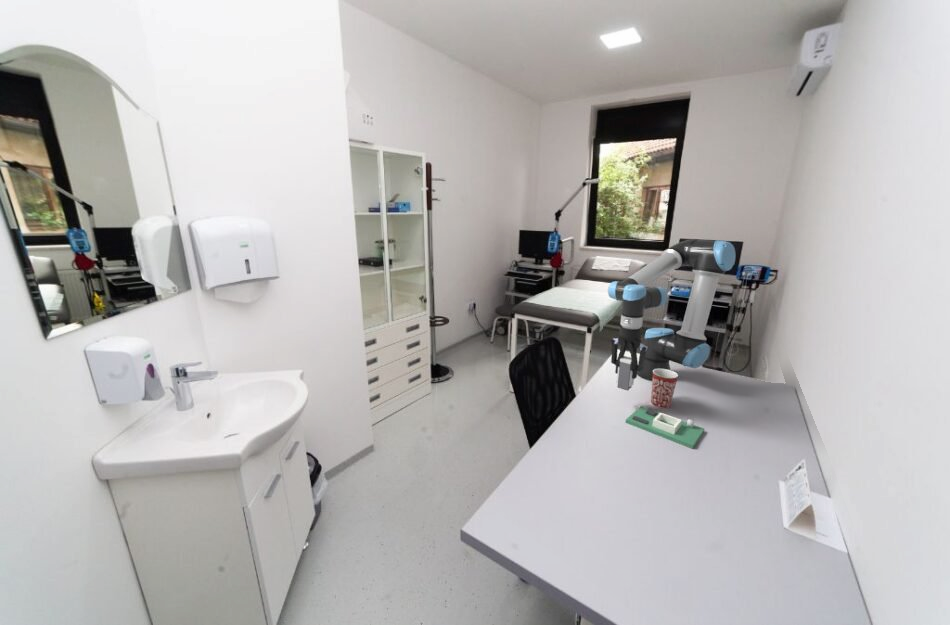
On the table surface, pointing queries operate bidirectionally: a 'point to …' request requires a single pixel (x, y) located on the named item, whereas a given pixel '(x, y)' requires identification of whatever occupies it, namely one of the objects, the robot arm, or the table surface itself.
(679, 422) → the board
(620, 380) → the plug
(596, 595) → the table surface
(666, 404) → the mug
